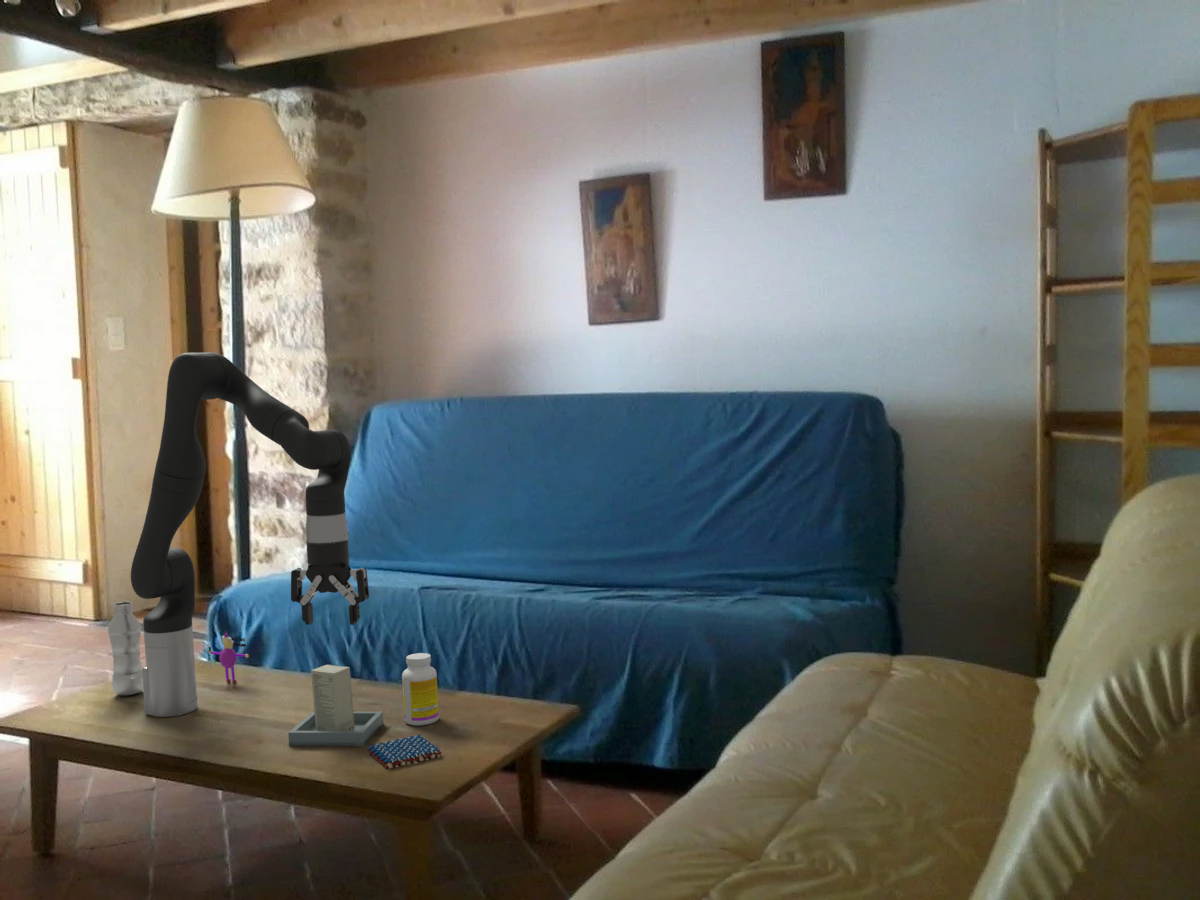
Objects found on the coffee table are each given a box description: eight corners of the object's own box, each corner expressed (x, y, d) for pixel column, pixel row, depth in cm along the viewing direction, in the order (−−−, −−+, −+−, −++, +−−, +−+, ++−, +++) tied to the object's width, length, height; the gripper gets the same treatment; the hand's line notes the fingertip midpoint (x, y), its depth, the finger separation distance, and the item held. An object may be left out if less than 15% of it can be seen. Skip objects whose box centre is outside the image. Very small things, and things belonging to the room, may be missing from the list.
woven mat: (444, 759, 189) (443, 748, 189) (386, 773, 183) (386, 761, 183) (421, 743, 198) (420, 732, 198) (365, 755, 192) (365, 744, 192)
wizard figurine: (254, 683, 239) (251, 630, 238) (244, 687, 236) (240, 633, 235) (215, 679, 243) (211, 626, 242) (205, 683, 240) (201, 630, 239)
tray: (289, 745, 197) (288, 732, 197) (313, 724, 209) (313, 711, 209) (362, 746, 196) (362, 732, 195) (383, 724, 208) (382, 711, 207)
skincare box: (355, 730, 203) (351, 666, 202) (338, 737, 199) (335, 673, 198) (330, 725, 206) (327, 663, 205) (313, 733, 202) (310, 669, 201)
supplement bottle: (446, 720, 209) (443, 655, 208) (418, 729, 204) (415, 662, 203) (424, 713, 213) (421, 649, 212) (397, 722, 209) (394, 657, 208)
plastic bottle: (138, 698, 230) (132, 606, 229) (107, 699, 230) (100, 607, 229) (151, 689, 237) (145, 599, 235) (120, 690, 237) (114, 600, 235)
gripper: (282, 541, 197) (286, 629, 198) (357, 540, 195) (361, 628, 196) (298, 535, 204) (302, 619, 205) (370, 534, 202) (374, 619, 204)
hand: (331, 623), depth 201 cm, fingers open, 8 cm apart
